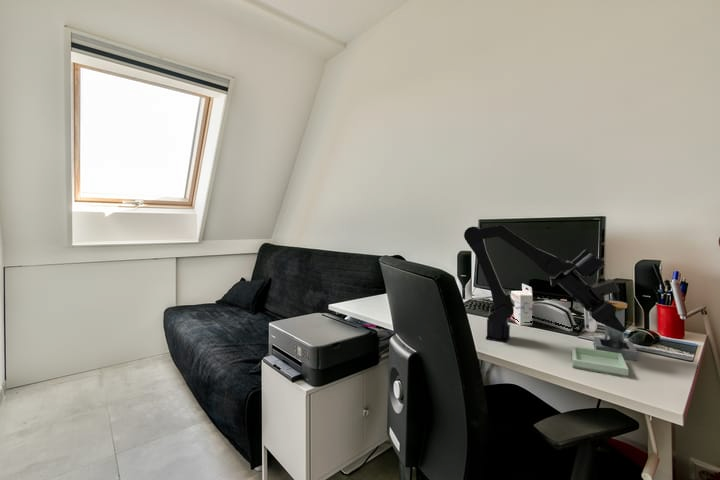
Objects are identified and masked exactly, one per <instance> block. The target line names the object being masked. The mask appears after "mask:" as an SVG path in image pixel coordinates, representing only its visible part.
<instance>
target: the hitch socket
mask: <svg viewBox="0 0 720 480" xmlns="http://www.w3.org/2000/svg"><path fill="white" fill-rule="evenodd" d="M592 342H593V343H592V345H593V349H594V350H601V351H607V352H614V353H621V354H622V356H623V359H624V360H626V361H628V360H629V361H636V362H638V355H639V354H638V351H637V349H636V347H635V345H634V344H633V341H626V340H624V349H623V348H616V347H609V346H605V337H598V336H593V339H592Z"/></svg>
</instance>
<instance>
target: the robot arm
mask: <svg viewBox="0 0 720 480" xmlns="http://www.w3.org/2000/svg"><path fill="white" fill-rule="evenodd" d="M463 237H464V239H465V241H466V243H467V244H468V246H469V248H470V249H471V251H472V252H473V253H474V255H475V257H476V259H477V262H478V264H479V266H480V269H481V271H482V273H483V276H484V278H485V281H486V283H487V286H488V288H489V290H490V294H491V298H492V299H491V300H492V304H493V305H492V306H493V307H492V308H490V309H489V311H488V314H487V319H486V336H485V339H486V340H491V341H496V342H497V341H498V342H503V343H507V342H508V340H510V337H511V325H510V324H509V318H510V319H511V316H512V315H513V313H514V308H513V307H515V303H514V301H513V300H512V298H511V291H509V290H508V291H507V292H506V291H505V289H504V288H503V287H502V284H501V282H500V280H499V277H498V275H497V272H496V270H495V268H494V265H493V263H492V260H491V258H490V255H489V253H488V251H487V247H486V240H487V239H492V238H497V237H498V238H500V239H502V240H503V241H505V242H506V243H507V244H509V245H510V246H512V247H513V248H515V249H516V250H517V251H519V252H521V253H522V254H524V255H526V256H527V257H528V258H530V259H531V260H532V261H533V262H534V263H535V264H536V265H537V266H538V267H539V268H540V269H541V270H542V271H543V272H544V273H545V274H547V275H550V276H549V280H550V281H549V282H550V283H549V284H550V287H552V288H553V287H555V286H557V285H559V286H560V287H561V288H562V289H563V290H564V291H565V292H567V294H568V295H570V296H571V298H572V299H574V301H576V302H577V303H579V304H580V306H581V307H582V308H583V309H584V308H585V309H586V310H587V311H588V312H589V315H590V316H591V317H592V318H593V319H594V320H595V321H596V322H597V324H601V325H603V326H605V325H606V326H609V327H611V328H613V329H616V330H618V331H620V332H624V333H626V331H627V329H626V328H625V326H624V327H623V325H622V324H621V322H620V321H619V320H618V318H617V317H616V311H617V310H616V307H614V306H613V305H612V304H611V303H610V302H609V301H610V300H605V297H604V296H608V295H610V294H614V293H619V292H620V289H619V287H618V284H617V283H616V281H615V280H614V279H612V278H611V279H610V278H607V279H605V278H604V277H602V276H600V277H597V278H596V281H595V282H594V283H593V284H592V285H591V284H589V283H588V282H586V281H584V280H583V279H582V278H581V277H583V278H585V277H586V278H591V277H592V276H594V275H595V274H596V273H597V272H599V271H600V270H601V269H603V268H604V267H606V264H605V262H603V261H602V260H601V259H600V258H598V257H597V256H595V255H593V254H592V253H591V252H590V251H589V250H587V249H584V250H582V251H581V252H580V254H579V255H578V256H576V257H574V259H572V260H571V261H570V260H568V259H567V260H565V259H560V258H559V257H557V256H556V255H553V254H551V253H549V252H547V251H544V250H542V249H540V248H537V247H535V246H534V245H533V244H531V243H529V242H528V241H526V240H525V239H523V238H522V237H520V236H519V235H517V234H516V233H514V232H512V231H511V230H510V229H509V228H507V227H506V226H505V225H503V224H498V225H494V226H488V227H482V228H480V227H478V226H470V227H468V228H467V229H465V230H464V234H463ZM485 239H486V240H485ZM564 271H565V272H564ZM574 271H575V272H576V273H578V275H577V274H576V273H575V272H574ZM555 275H556V276H555ZM553 276H555V277H553ZM580 276H581V277H580Z"/></svg>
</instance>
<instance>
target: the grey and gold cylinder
mask: <svg viewBox="0 0 720 480" xmlns="http://www.w3.org/2000/svg"><path fill="white" fill-rule="evenodd" d="M608 301H609V302H610V303H611V304H612V305H613V306H614V307H616V310H617V311H616V317H617V318H618V320H619V321H620V322H621V324H622V325H623V327H624V328H625V312H626V311H625V309H627V308H628V303H627V302H624V301H620V300H619V301H618V300H608ZM604 338H605V346H609V347H616V348H623V349H624V341H625V332H620V331H618V330H616V329H613V328H611V327H609V326H606V325H604Z"/></svg>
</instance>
